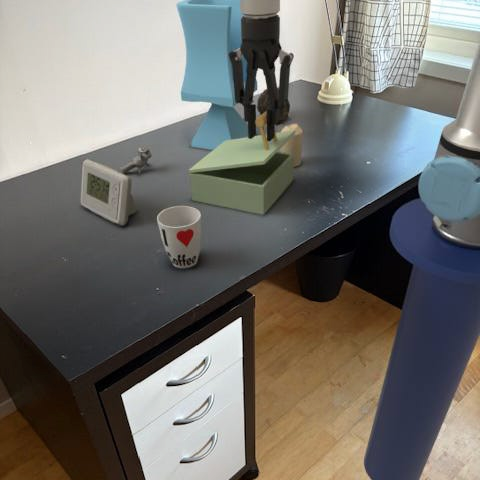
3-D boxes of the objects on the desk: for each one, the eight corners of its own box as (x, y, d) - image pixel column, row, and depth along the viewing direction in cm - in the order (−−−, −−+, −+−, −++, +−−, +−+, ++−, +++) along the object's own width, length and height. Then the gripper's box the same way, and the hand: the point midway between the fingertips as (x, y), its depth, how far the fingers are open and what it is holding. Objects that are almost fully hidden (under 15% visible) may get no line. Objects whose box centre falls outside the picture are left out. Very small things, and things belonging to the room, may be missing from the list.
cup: (159, 271, 92) (151, 226, 86) (171, 248, 98) (164, 204, 92) (199, 274, 91) (194, 229, 85) (209, 251, 97) (205, 206, 90)
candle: (292, 157, 130) (293, 119, 124) (305, 163, 127) (307, 125, 120) (276, 162, 128) (276, 124, 122) (289, 169, 125) (290, 130, 118)
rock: (276, 124, 147) (275, 89, 141) (251, 121, 154) (250, 87, 149) (298, 120, 152) (298, 85, 147) (273, 117, 160) (273, 84, 154)
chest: (292, 180, 120) (293, 154, 115) (263, 215, 107) (263, 187, 103) (226, 169, 126) (225, 143, 122) (192, 200, 114) (189, 173, 109)
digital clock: (79, 206, 113) (67, 163, 106) (114, 194, 117) (104, 152, 110) (109, 233, 104) (97, 188, 96) (145, 220, 107) (137, 175, 100)
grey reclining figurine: (120, 166, 130) (149, 150, 130) (131, 186, 130) (160, 169, 130) (111, 155, 120) (142, 138, 120) (123, 176, 120) (154, 159, 120)
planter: (234, 155, 133) (228, 6, 109) (186, 147, 138) (171, 4, 115) (257, 135, 143) (256, -4, 120) (212, 129, 148) (202, -6, 125)
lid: (295, 133, 112) (288, 98, 107) (264, 164, 99) (255, 126, 95) (225, 143, 121) (216, 112, 117) (189, 173, 109) (178, 139, 105)
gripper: (308, 12, 90) (302, 136, 106) (229, 9, 96) (234, 127, 112) (294, 20, 85) (290, 149, 101) (212, 16, 91) (220, 139, 107)
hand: (261, 137), depth 106 cm, fingers open, 4 cm apart
